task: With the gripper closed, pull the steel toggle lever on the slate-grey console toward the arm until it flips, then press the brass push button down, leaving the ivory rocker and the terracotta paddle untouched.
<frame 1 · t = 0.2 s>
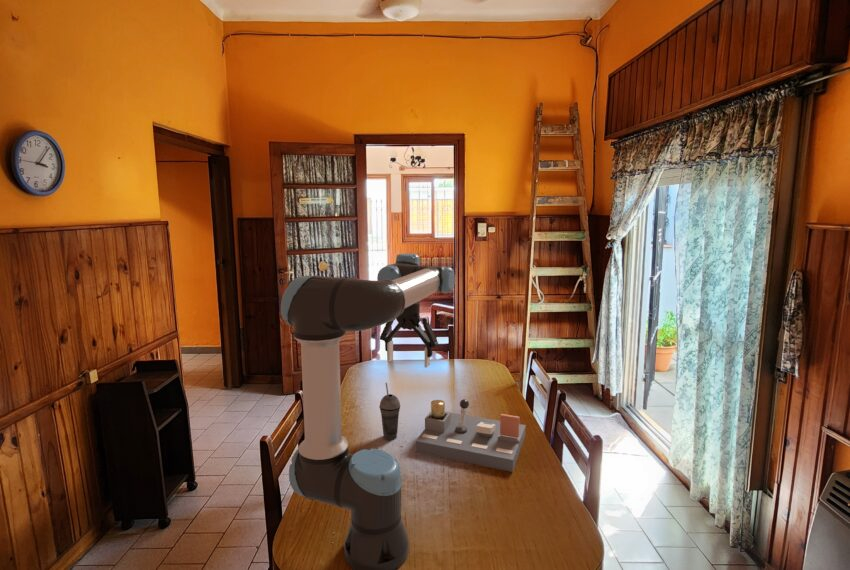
hand: (408, 363, 155), 28 cm above the table, fingers open, 13 cm apart
paddle: (509, 425, 153), point 9 cm above the table, hinge at 0.0°
beverage cup: (390, 437, 163), on the table
toggle lever: (463, 412, 160), point 10 cm above the table, hinge at 25.0°
push button: (437, 410, 161), point 10 cm above the table, slide at 0.0 cm
console: (472, 443, 159), on the table
rocker: (485, 427, 156), point 7 cm above the table, hinge at 15.0°
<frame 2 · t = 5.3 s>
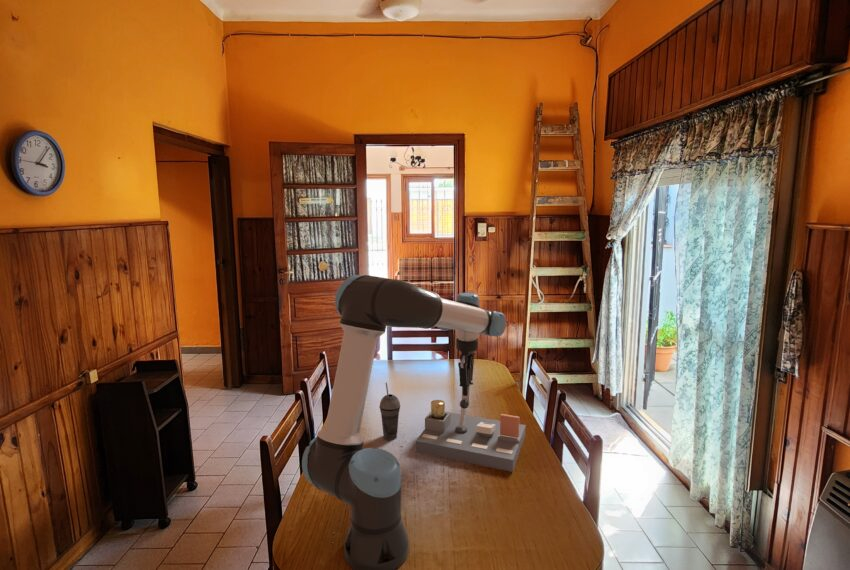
hand: (466, 402, 163), 12 cm above the table, fingers closed
toggle lever: (463, 412, 160), point 10 cm above the table, hinge at 24.9°, touching gripper
everything else where it was.
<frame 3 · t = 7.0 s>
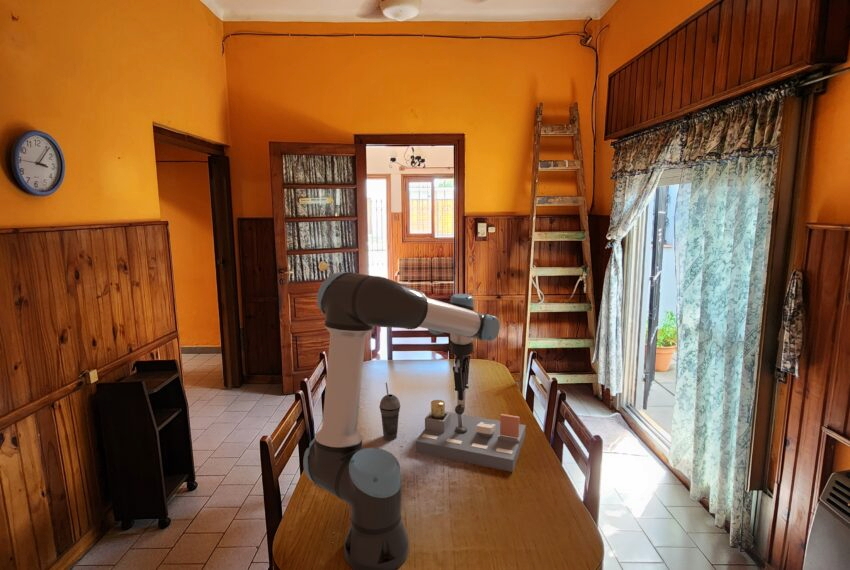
hand: (461, 407, 158), 13 cm above the table, fingers closed
toggle lever: (460, 416, 157), point 10 cm above the table, hinge at -16.5°, touching gripper
everything else where it was.
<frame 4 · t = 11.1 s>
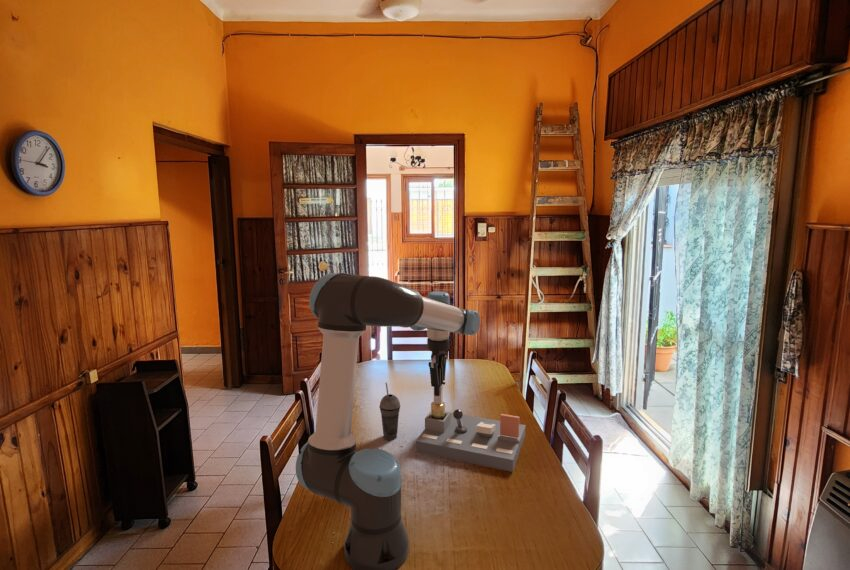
hand: (438, 403, 161), 13 cm above the table, fingers closed
toggle lever: (459, 419, 156), point 9 cm above the table, hinge at -31.2°
push button: (437, 412, 161), point 9 cm above the table, slide at 0.5 cm, touching gripper
everything else where it was.
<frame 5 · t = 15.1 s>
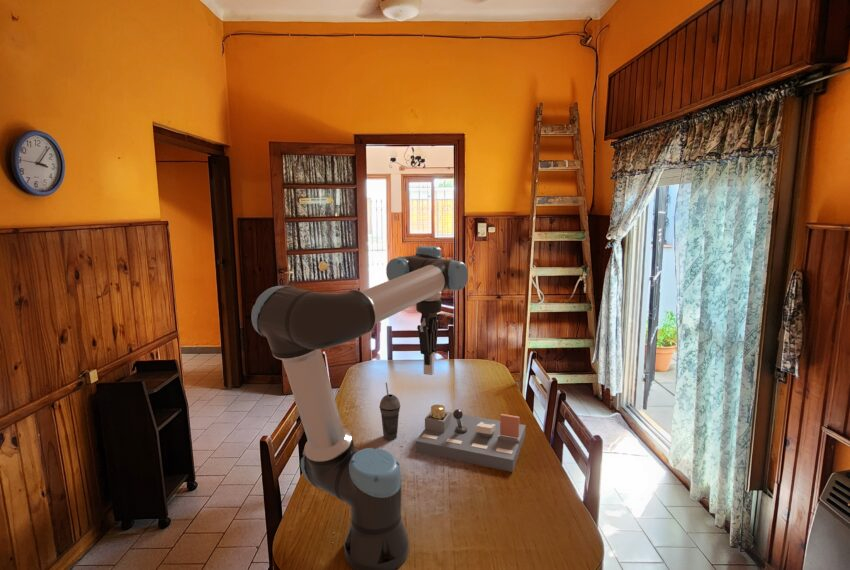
hand: (428, 373, 142), 29 cm above the table, fingers closed
push button: (437, 415, 162), point 8 cm above the table, slide at 1.8 cm
everything else where it was.
at the end: toggle lever at -31° (first picture: +25°); push button slide at 1.8 cm; rocker at +15° (first picture: +15°) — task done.
